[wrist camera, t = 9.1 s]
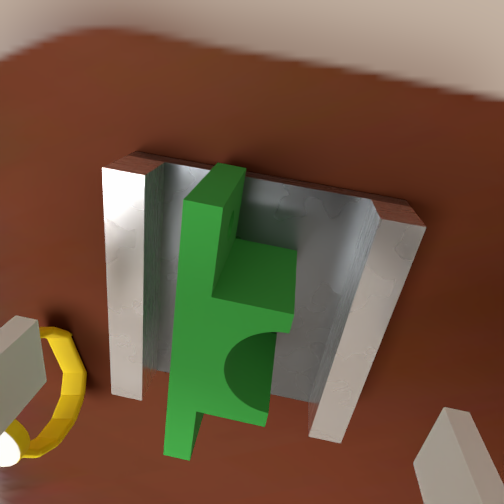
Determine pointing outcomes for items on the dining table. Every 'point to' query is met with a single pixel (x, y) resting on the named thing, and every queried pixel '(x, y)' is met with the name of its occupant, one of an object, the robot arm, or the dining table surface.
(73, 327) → the dining table surface
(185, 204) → the pipe clamp
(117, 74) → the dining table surface
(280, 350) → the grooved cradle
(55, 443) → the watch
